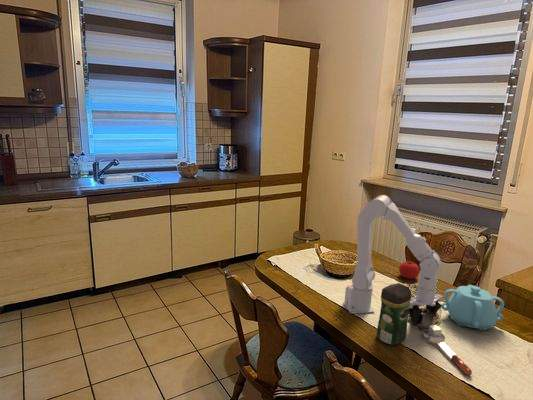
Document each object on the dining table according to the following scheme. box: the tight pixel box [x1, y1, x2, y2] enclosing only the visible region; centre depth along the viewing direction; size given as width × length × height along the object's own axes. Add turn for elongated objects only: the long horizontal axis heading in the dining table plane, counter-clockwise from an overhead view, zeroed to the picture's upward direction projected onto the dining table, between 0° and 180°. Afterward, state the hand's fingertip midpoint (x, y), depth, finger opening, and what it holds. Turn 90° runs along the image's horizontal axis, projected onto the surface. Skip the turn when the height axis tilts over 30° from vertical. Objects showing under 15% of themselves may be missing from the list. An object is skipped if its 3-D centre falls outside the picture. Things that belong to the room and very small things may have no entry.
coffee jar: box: [376, 282, 412, 346], centre depth 119 cm, size 10×8×19 cm
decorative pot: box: [440, 284, 505, 331], centre depth 132 cm, size 16×16×14 cm
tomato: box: [398, 260, 420, 280], centre depth 168 cm, size 9×9×8 cm
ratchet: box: [422, 324, 473, 376], centre depth 114 cm, size 21×6×4 cm, turn 8°
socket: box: [409, 305, 435, 332], centre depth 129 cm, size 5×5×6 cm
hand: (421, 322), depth 129 cm, fingers open, 6 cm apart
